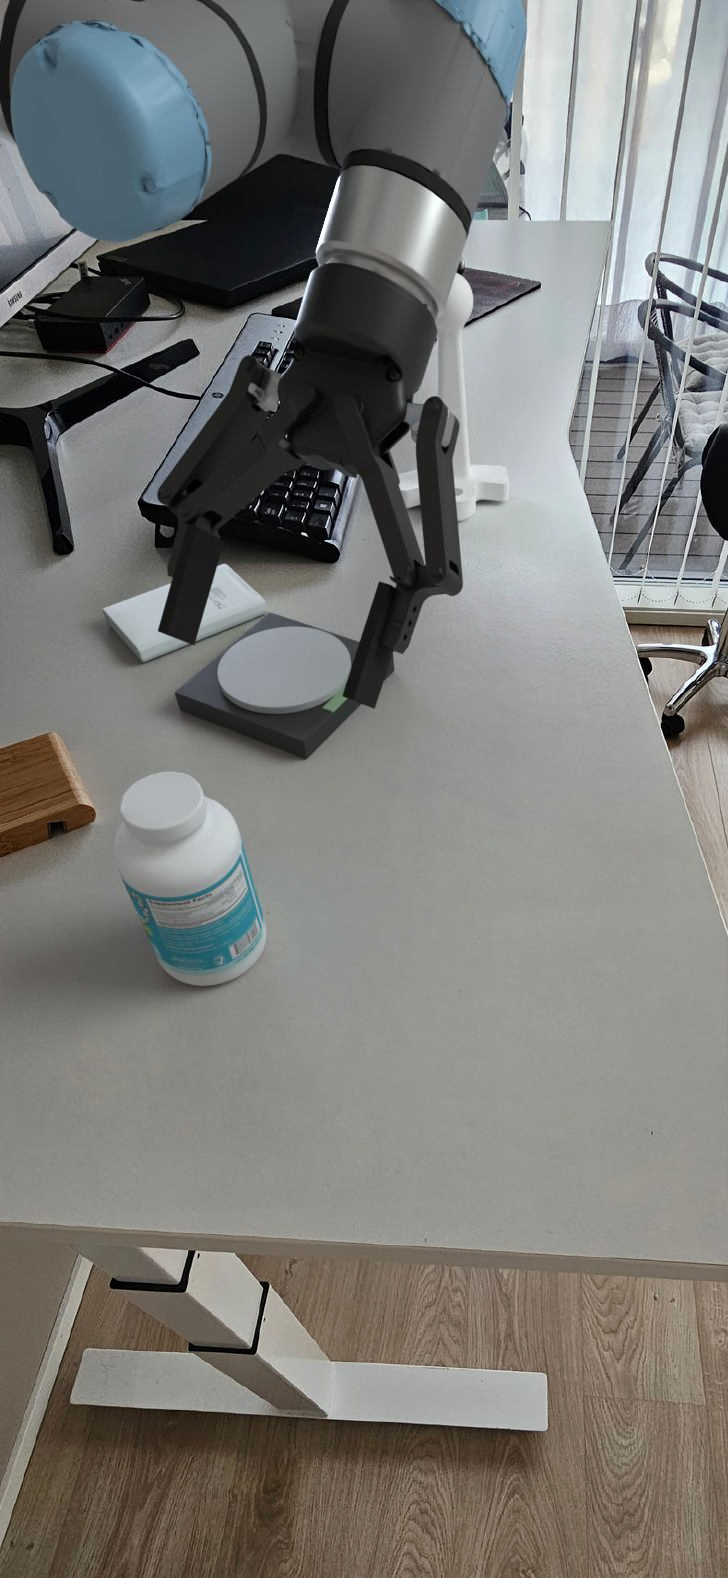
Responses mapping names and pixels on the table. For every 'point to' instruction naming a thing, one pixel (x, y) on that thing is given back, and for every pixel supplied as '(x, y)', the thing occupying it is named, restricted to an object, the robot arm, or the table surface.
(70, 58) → the robot arm
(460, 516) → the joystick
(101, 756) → the table surface
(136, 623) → the hard drive
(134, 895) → the pill bottle
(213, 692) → the scale
